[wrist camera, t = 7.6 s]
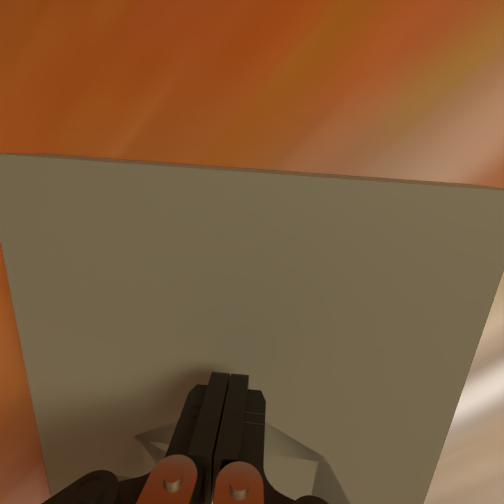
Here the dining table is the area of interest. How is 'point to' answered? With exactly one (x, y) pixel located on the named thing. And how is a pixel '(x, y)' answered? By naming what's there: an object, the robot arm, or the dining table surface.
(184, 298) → the grey flat block
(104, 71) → the dining table surface
